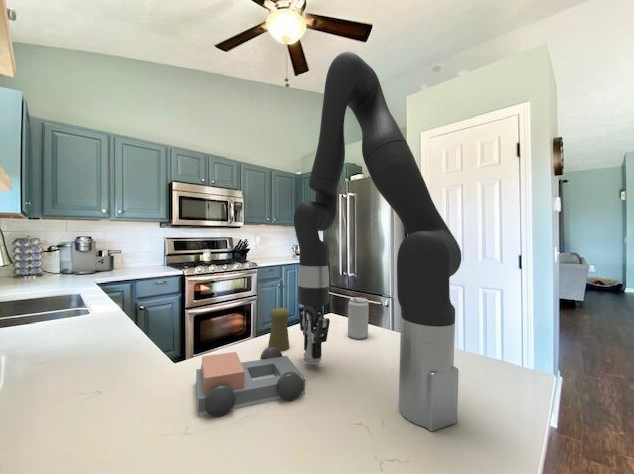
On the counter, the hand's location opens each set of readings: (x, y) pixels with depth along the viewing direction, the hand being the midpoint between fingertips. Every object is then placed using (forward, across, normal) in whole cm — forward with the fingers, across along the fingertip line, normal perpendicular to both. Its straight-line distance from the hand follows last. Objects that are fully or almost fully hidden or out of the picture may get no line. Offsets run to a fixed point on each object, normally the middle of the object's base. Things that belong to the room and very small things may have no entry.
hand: (312, 353), depth 72 cm
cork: (+3, +14, +4) cm, 15 cm away
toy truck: (+3, -5, +16) cm, 17 cm away
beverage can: (+3, +14, -22) cm, 26 cm away
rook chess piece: (+2, 0, 0) cm, 2 cm away
